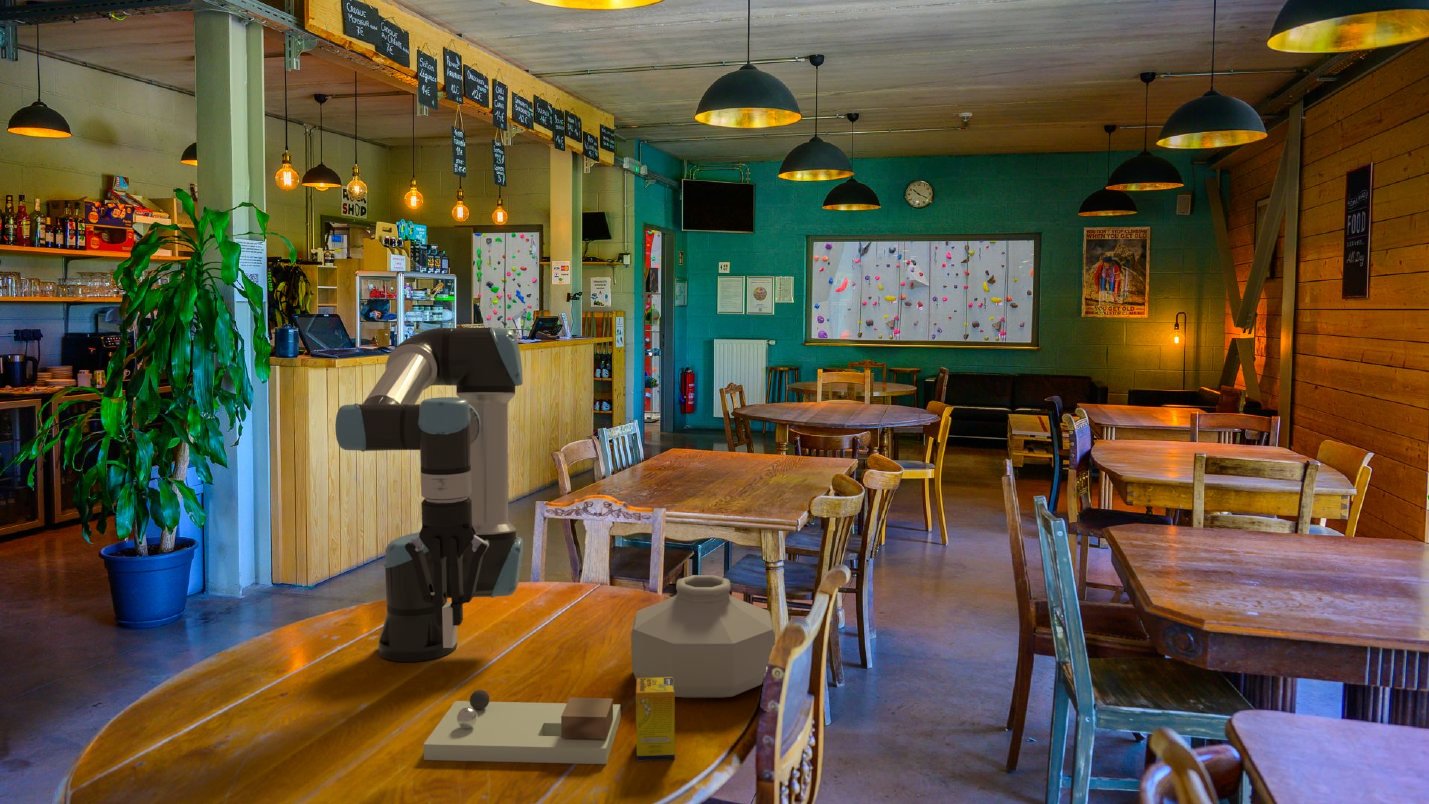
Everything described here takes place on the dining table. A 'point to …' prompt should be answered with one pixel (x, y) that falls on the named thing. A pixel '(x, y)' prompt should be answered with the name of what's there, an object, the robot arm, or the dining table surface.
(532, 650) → the dining table surface
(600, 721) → the cover
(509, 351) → the robot arm
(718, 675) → the pot
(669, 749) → the supplement box
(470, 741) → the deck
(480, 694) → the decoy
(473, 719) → the ball
